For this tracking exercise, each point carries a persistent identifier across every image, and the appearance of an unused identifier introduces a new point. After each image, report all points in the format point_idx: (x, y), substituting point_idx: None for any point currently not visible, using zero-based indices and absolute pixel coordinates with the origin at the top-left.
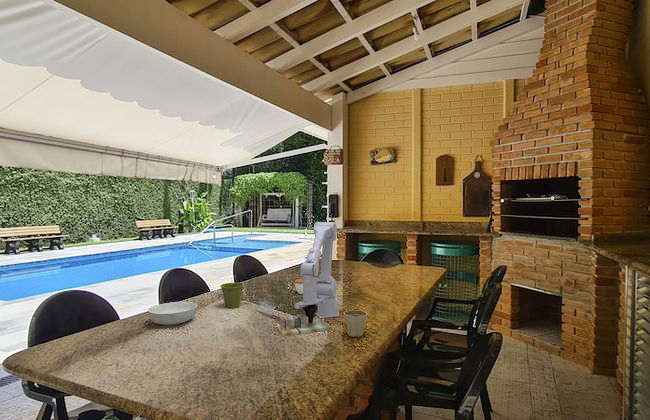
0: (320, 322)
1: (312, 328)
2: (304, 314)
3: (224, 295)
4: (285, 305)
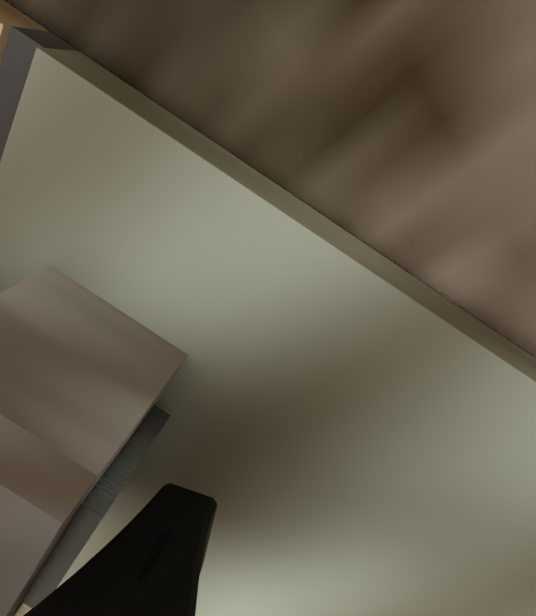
0: (441, 585)
1: None
2: (36, 550)
3: None
4: None
